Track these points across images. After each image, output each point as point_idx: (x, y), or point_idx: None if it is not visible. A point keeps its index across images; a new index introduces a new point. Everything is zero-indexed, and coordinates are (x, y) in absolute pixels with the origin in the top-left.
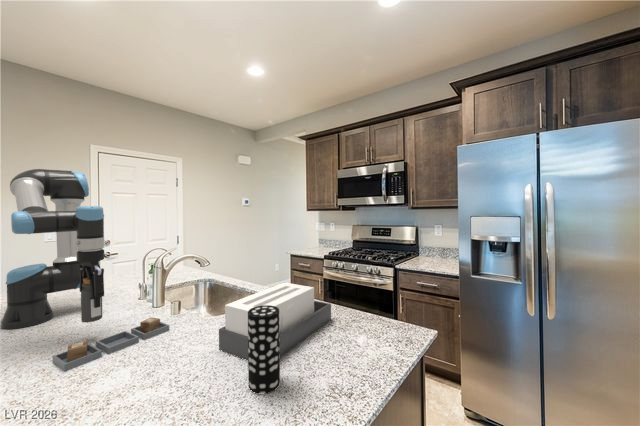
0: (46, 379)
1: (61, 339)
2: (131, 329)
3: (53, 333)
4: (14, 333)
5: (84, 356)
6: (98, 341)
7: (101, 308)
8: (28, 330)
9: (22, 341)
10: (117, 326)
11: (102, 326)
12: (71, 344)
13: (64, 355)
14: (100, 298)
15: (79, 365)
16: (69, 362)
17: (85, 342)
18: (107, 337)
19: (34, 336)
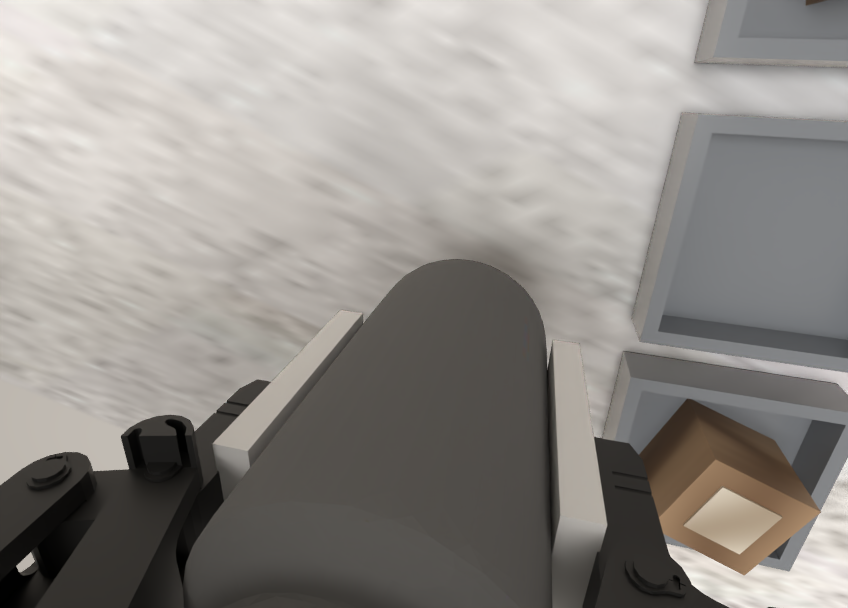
0: (733, 573)
1: (284, 324)
2: (721, 57)
3: (154, 298)
4: (25, 367)
5: (818, 494)
6: (670, 338)
7: (524, 340)
8: (22, 326)
9: (160, 400)
10: (367, 18)
11: (265, 89)
12: (665, 518)
13: None
14: (599, 504)
15: None
16: (793, 552)
17: (743, 481)
18: (668, 271)
19: (130, 353)
